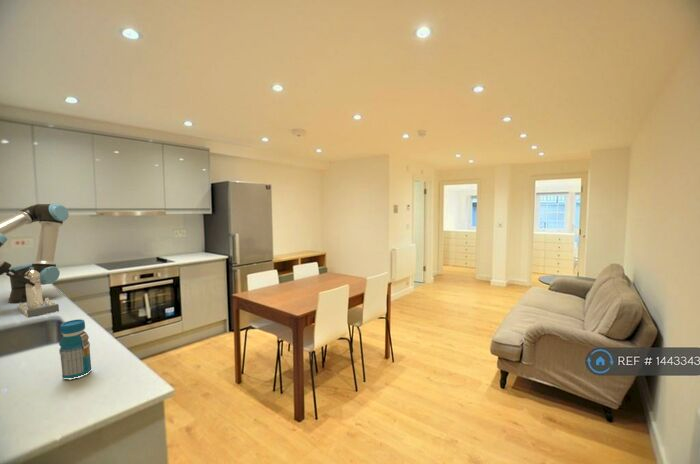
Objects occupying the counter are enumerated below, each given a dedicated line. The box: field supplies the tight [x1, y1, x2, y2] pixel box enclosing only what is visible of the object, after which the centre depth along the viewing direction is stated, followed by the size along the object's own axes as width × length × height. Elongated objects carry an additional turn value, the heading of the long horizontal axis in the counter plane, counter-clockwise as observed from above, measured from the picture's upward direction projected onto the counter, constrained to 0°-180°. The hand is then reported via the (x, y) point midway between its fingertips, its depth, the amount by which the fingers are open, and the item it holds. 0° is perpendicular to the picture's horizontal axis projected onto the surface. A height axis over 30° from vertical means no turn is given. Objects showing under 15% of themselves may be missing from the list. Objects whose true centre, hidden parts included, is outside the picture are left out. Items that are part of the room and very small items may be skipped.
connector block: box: [27, 303, 60, 318], centre depth 182 cm, size 2×13×4 cm, turn 144°
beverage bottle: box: [58, 318, 92, 379], centre depth 116 cm, size 8×8×20 cm
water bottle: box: [24, 267, 44, 310], centre depth 193 cm, size 7×7×25 cm
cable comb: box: [17, 297, 56, 318], centre depth 190 cm, size 26×13×4 cm, turn 54°
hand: (37, 286), depth 194 cm, fingers open, 13 cm apart
